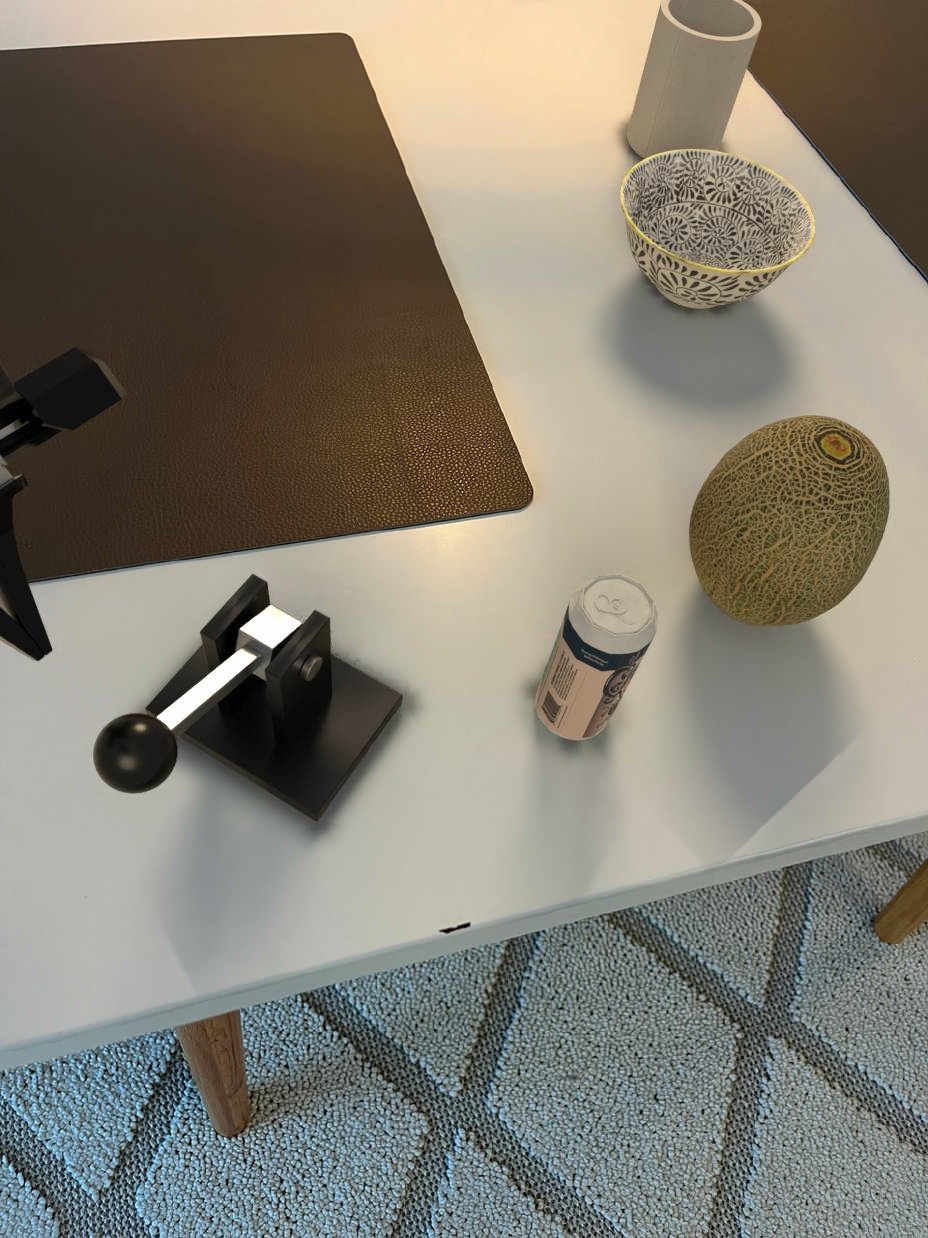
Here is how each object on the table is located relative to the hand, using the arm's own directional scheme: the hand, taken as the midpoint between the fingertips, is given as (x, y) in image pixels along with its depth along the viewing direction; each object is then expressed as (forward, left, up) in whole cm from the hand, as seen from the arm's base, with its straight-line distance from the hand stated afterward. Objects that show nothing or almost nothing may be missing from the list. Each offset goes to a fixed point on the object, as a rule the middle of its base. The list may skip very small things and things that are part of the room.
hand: (43, 655), depth 42 cm
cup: (0, +81, -14) cm, 82 cm away
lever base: (+5, +9, -14) cm, 17 cm away
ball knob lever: (+5, +3, -6) cm, 8 cm away
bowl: (+10, +62, -14) cm, 64 cm away
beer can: (+20, +19, -14) cm, 31 cm away
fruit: (+26, +34, -14) cm, 45 cm away
